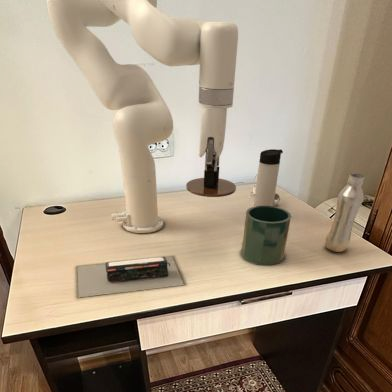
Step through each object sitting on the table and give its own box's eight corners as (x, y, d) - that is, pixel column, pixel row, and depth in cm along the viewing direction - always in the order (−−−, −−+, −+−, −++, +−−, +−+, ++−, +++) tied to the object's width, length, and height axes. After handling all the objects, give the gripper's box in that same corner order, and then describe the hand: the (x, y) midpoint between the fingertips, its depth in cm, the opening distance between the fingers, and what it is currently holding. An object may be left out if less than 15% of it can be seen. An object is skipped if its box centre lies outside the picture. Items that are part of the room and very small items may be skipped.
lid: (192, 201, 87) (192, 175, 83) (181, 183, 96) (181, 159, 92) (242, 198, 89) (245, 173, 85) (227, 181, 98) (229, 158, 94)
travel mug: (273, 220, 119) (284, 152, 106) (253, 219, 119) (261, 152, 106) (270, 212, 124) (281, 147, 111) (251, 212, 124) (259, 146, 111)
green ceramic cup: (249, 267, 96) (255, 224, 88) (236, 247, 104) (240, 207, 97) (290, 262, 98) (299, 221, 90) (273, 243, 106) (280, 204, 99)
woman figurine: (260, 196, 122) (240, 183, 136) (259, 210, 125) (240, 195, 139) (291, 194, 125) (269, 181, 138) (289, 207, 128) (268, 193, 141)
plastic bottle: (347, 246, 106) (370, 173, 93) (346, 256, 101) (370, 181, 88) (324, 242, 108) (344, 170, 94) (322, 252, 103) (343, 177, 90)
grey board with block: (183, 284, 89) (183, 269, 86) (78, 297, 84) (74, 281, 81) (172, 257, 99) (171, 242, 96) (77, 266, 94) (74, 251, 91)
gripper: (204, 91, 85) (201, 174, 98) (192, 102, 74) (190, 195, 86) (236, 93, 85) (229, 176, 97) (229, 105, 73) (221, 198, 85)
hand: (211, 184), depth 91 cm, fingers closed on lid, 2 cm apart
